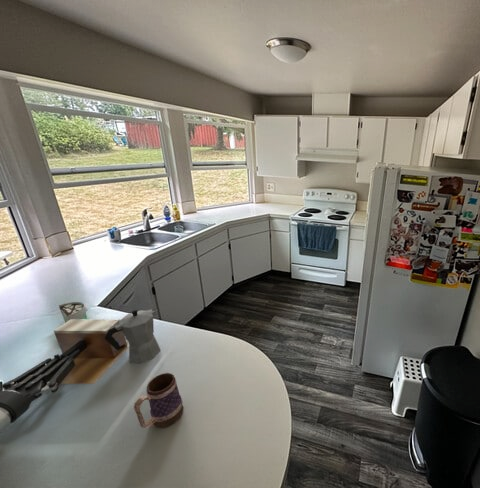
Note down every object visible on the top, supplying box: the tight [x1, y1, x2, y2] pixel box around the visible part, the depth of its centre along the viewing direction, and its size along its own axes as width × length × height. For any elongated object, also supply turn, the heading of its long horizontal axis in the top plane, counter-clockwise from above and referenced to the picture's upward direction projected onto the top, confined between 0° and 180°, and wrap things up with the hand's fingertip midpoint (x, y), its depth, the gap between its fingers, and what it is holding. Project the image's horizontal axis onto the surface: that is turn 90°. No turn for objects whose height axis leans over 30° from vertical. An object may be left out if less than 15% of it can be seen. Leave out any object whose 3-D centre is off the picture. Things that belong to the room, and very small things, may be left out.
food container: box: [58, 301, 88, 324], centre depth 96 cm, size 12×6×10 cm, turn 58°
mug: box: [133, 372, 184, 429], centre depth 63 cm, size 10×7×12 cm
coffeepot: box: [105, 308, 161, 364], centre depth 82 cm, size 15×9×18 cm, turn 153°
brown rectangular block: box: [53, 318, 127, 358], centre depth 84 cm, size 16×6×11 cm, turn 92°
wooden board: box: [60, 335, 129, 385], centre depth 85 cm, size 18×24×1 cm
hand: (83, 343), depth 80 cm, fingers closed
